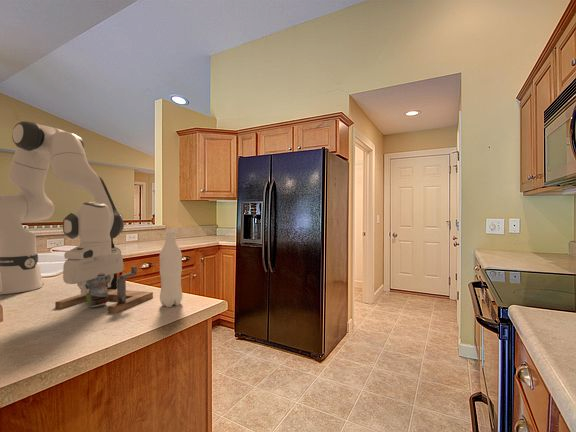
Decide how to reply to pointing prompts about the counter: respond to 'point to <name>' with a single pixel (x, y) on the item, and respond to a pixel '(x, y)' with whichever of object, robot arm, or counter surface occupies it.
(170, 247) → the water bottle
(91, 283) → the beverage can
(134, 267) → the hook post
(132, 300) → the wooden u-shaped frame
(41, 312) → the counter surface
